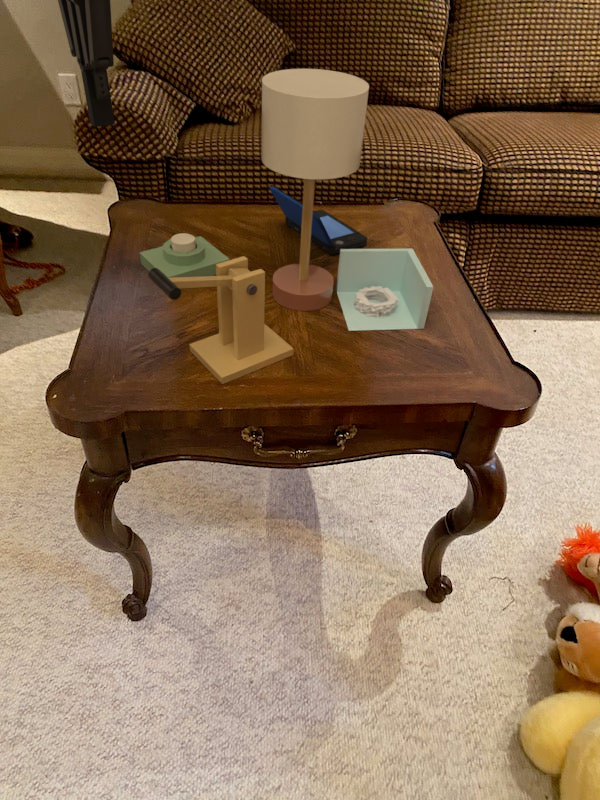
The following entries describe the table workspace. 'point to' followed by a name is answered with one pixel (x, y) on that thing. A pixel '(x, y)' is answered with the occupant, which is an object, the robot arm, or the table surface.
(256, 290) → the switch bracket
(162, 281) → the lamp lever
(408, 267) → the right angle wall
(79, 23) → the robot arm
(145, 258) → the switch box
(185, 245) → the button
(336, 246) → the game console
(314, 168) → the lamp
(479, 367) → the table surface
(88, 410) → the table surface
